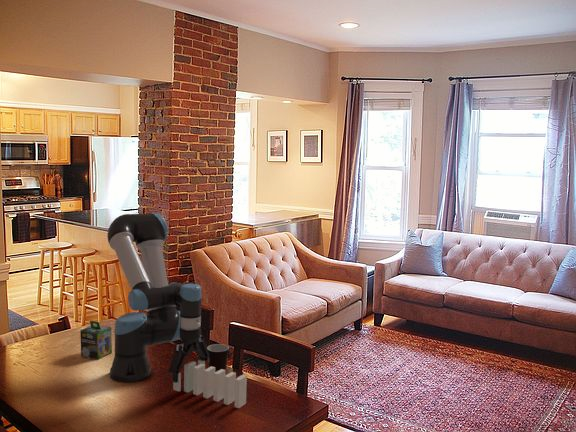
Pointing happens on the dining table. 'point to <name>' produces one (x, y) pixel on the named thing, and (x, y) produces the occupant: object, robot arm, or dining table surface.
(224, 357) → the coffee mug
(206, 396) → the tile
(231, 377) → the tile
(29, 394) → the dining table surface
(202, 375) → the tile
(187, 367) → the end tile
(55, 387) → the dining table surface
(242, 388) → the grey rectangular block
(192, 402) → the dining table surface
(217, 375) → the tile
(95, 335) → the chalk box
